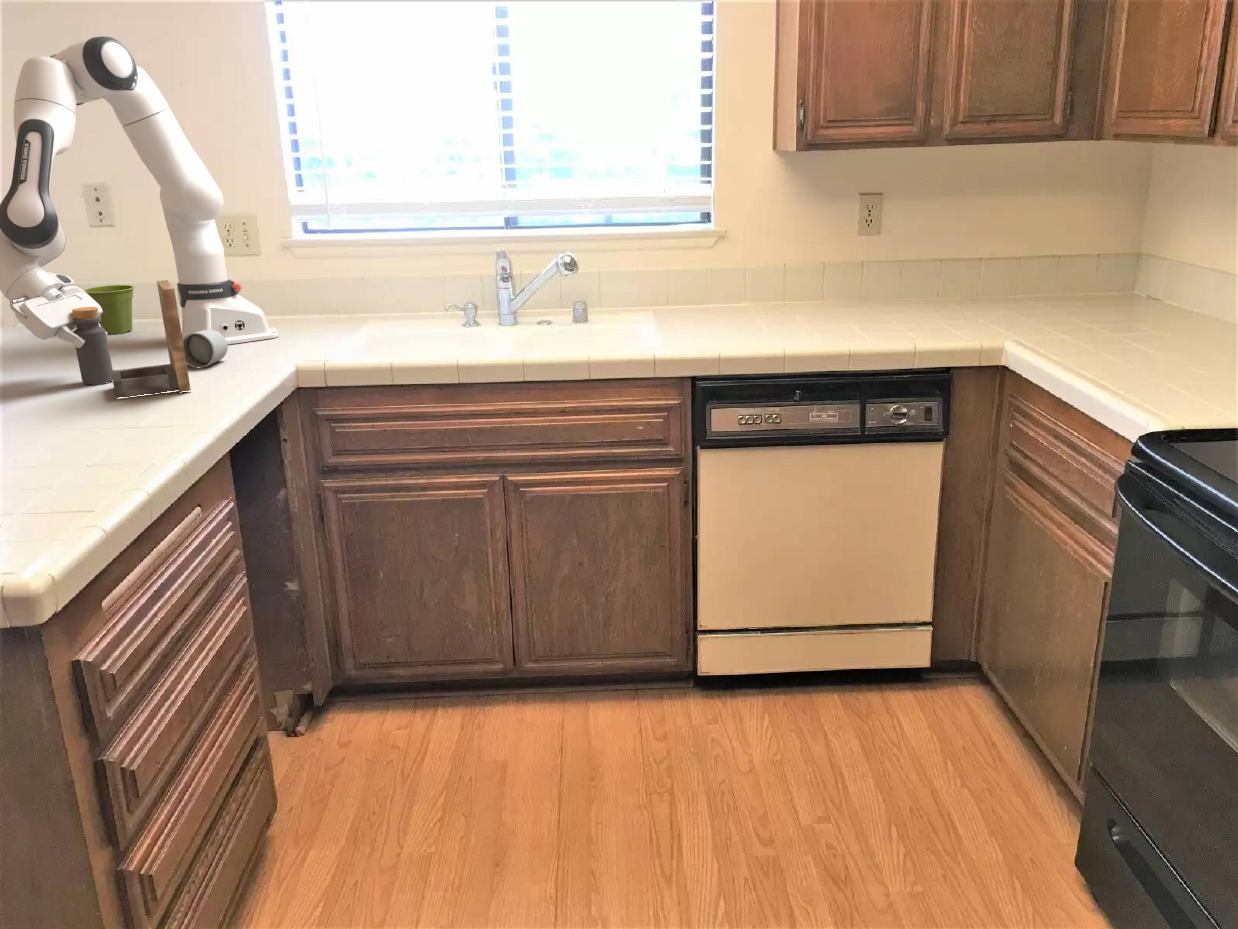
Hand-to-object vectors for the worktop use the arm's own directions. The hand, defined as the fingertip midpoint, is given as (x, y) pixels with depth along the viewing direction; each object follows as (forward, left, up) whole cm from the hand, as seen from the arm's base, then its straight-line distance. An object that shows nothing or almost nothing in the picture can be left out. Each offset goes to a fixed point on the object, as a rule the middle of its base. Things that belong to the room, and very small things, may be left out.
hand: (94, 341), depth 202 cm
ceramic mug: (-20, -6, -9) cm, 22 cm away
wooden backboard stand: (-7, +13, -8) cm, 17 cm away
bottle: (+1, 0, -9) cm, 9 cm away
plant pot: (-5, -60, -9) cm, 61 cm away
